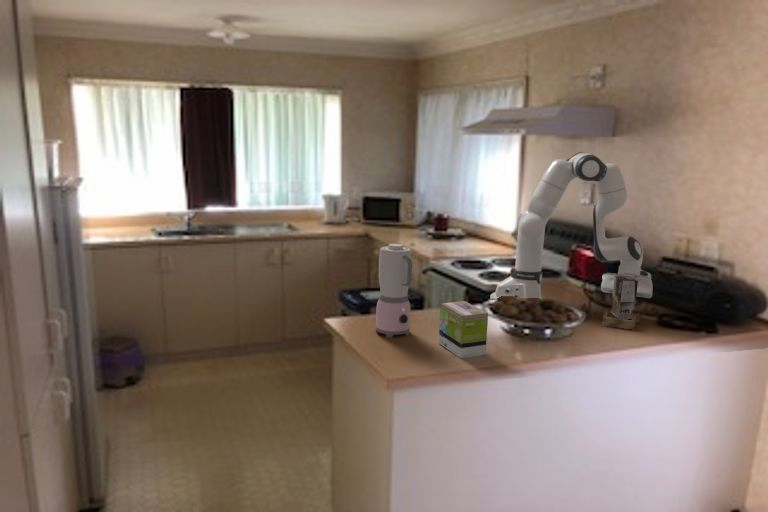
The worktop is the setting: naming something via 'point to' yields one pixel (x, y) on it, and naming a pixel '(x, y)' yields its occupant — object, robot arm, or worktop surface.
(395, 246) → the blender
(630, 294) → the coffee box
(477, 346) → the tea box
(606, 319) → the wooden tray
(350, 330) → the worktop surface
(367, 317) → the worktop surface
